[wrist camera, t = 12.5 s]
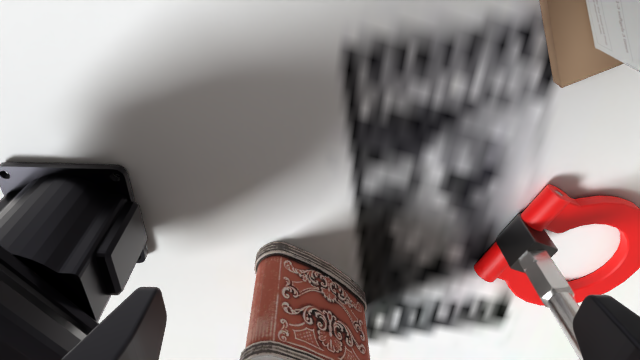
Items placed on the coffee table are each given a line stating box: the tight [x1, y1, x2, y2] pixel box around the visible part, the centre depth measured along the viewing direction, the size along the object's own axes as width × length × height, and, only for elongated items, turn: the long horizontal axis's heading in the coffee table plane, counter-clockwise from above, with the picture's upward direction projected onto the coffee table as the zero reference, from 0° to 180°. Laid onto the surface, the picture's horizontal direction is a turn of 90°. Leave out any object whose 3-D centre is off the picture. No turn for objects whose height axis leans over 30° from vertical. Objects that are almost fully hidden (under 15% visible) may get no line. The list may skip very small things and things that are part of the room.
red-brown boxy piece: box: [240, 242, 370, 360], centre depth 23 cm, size 8×3×10 cm, turn 49°
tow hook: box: [474, 184, 640, 360], centre depth 21 cm, size 8×13×9 cm
